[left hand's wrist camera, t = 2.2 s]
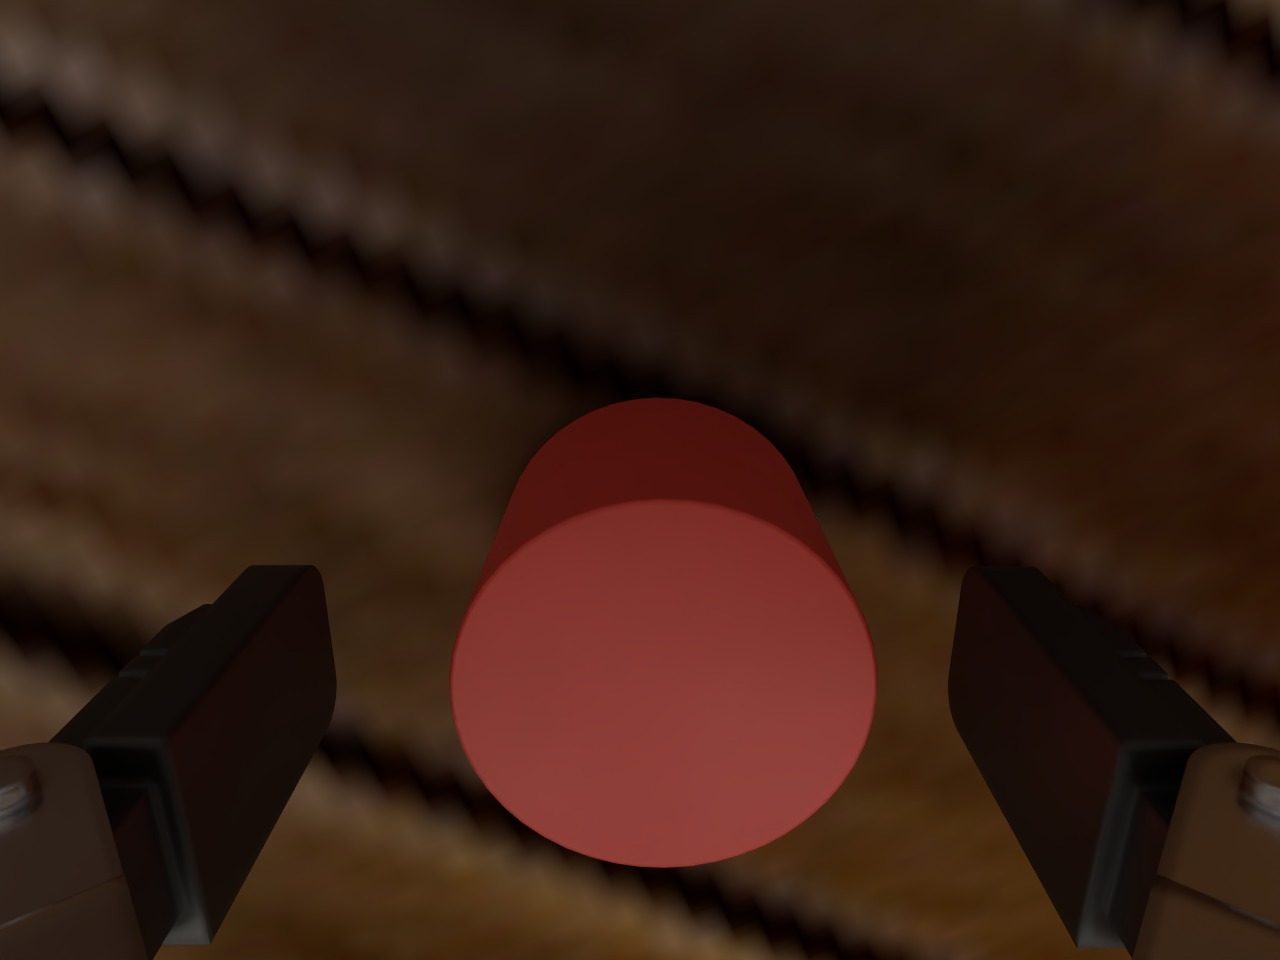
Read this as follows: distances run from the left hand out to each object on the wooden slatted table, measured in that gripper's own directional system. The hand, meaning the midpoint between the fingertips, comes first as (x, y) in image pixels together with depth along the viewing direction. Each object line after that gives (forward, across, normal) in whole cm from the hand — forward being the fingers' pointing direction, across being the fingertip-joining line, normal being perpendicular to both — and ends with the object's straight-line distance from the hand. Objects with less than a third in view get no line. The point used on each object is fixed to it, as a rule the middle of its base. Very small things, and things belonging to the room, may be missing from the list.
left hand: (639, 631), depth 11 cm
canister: (+3, 0, 0) cm, 3 cm away
